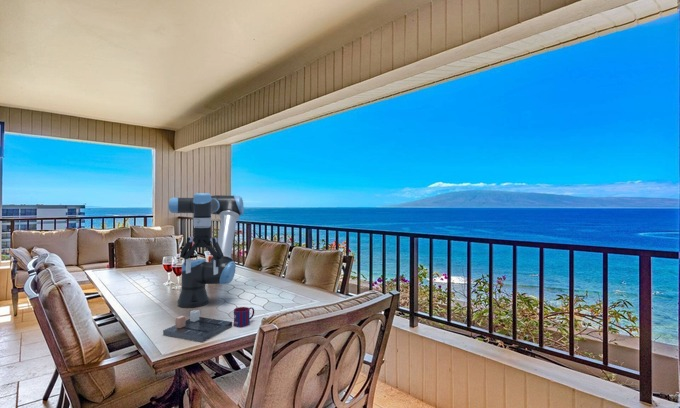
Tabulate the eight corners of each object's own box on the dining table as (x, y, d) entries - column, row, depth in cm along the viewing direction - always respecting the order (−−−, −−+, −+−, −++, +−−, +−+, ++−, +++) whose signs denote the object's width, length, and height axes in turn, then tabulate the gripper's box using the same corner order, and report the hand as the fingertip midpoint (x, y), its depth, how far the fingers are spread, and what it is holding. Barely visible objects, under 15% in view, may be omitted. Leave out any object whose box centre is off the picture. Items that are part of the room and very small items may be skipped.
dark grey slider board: (163, 335, 137) (163, 330, 137) (195, 320, 154) (195, 316, 154) (202, 342, 130) (202, 337, 130) (232, 326, 147) (232, 321, 147)
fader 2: (189, 321, 147) (190, 311, 147) (195, 318, 150) (195, 309, 150) (194, 321, 146) (194, 312, 146) (199, 319, 149) (199, 310, 149)
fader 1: (175, 327, 140) (175, 317, 139) (181, 325, 142) (181, 315, 142) (179, 328, 139) (180, 318, 139) (185, 325, 142) (185, 316, 142)
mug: (230, 324, 150) (231, 309, 150) (250, 319, 157) (251, 304, 157) (238, 328, 145) (238, 312, 145) (258, 322, 152) (258, 307, 152)
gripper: (172, 227, 152) (171, 274, 152) (223, 228, 148) (223, 276, 148) (182, 225, 159) (182, 270, 159) (231, 227, 155) (231, 272, 155)
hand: (201, 273), depth 154 cm, fingers open, 13 cm apart
